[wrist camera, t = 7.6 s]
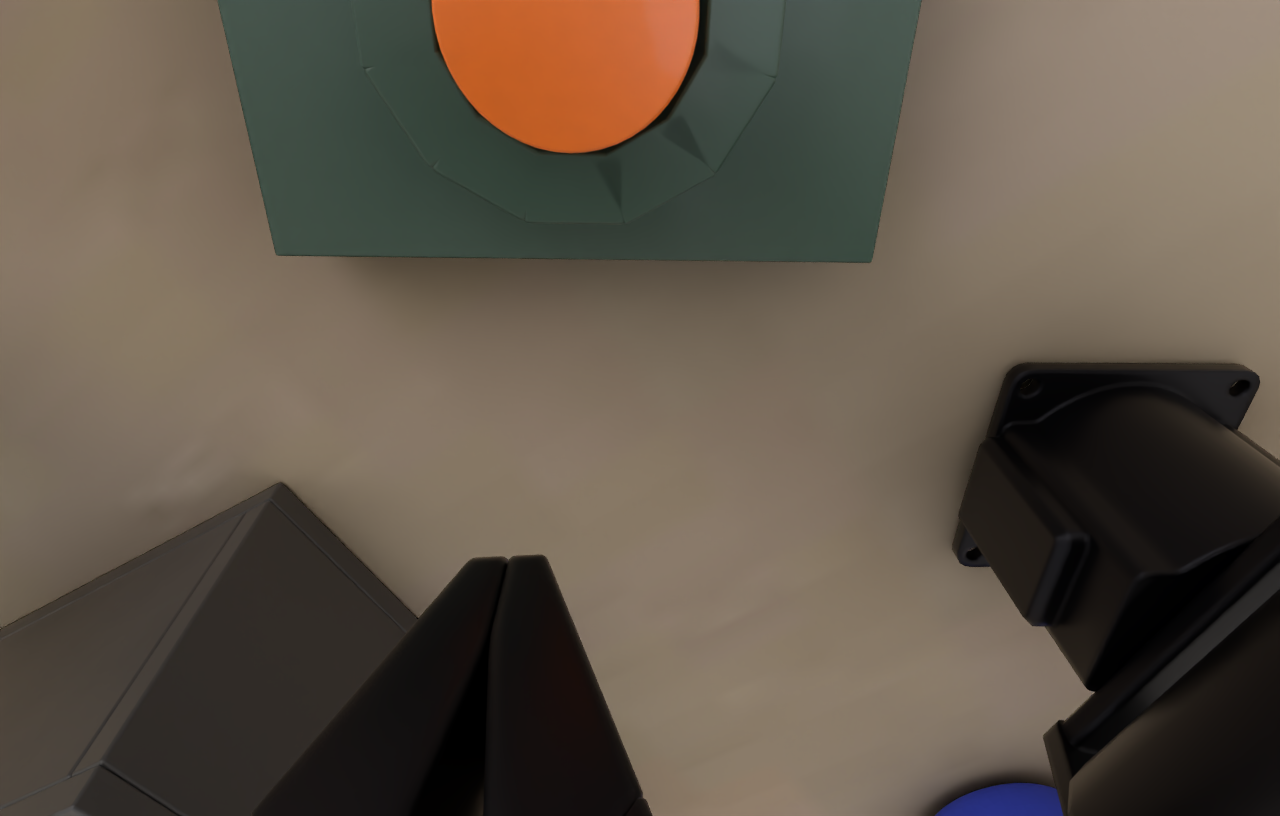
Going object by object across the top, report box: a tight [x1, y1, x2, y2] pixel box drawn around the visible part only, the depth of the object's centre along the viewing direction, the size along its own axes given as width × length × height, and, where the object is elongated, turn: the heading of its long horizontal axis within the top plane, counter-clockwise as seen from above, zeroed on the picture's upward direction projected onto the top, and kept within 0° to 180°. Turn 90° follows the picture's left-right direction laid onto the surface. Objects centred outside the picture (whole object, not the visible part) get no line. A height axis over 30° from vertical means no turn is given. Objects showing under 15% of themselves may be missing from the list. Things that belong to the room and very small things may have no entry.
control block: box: [218, 0, 922, 263], centre depth 13 cm, size 12×9×4 cm
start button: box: [432, 0, 699, 153], centre depth 11 cm, size 4×4×2 cm
